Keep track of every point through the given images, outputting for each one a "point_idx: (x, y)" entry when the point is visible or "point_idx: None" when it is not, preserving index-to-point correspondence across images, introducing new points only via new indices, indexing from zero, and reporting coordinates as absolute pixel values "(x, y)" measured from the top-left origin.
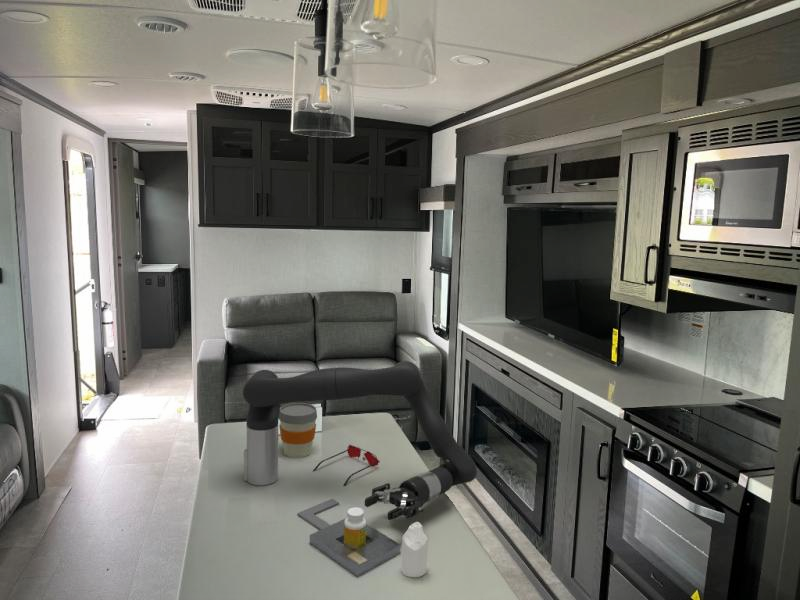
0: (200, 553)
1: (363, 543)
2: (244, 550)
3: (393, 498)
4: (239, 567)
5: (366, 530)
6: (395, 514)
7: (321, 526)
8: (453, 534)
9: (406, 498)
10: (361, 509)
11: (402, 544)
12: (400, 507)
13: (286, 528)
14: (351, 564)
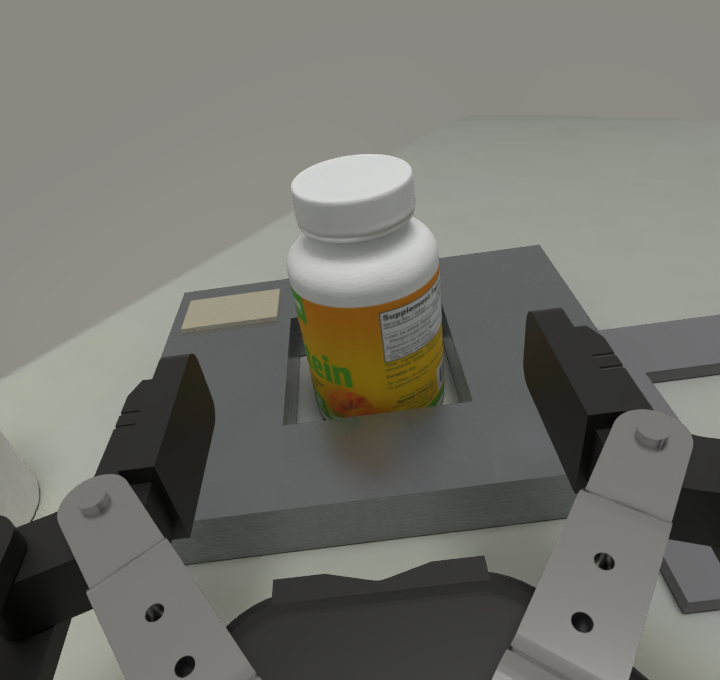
0: (619, 125)
1: (311, 376)
2: (588, 170)
3: (403, 579)
4: (501, 159)
5: (416, 441)
6: (127, 412)
7: (656, 334)
8: None
9: (128, 671)
10: (344, 196)
11: None
12: (114, 475)
13: (709, 254)
14: (226, 289)
